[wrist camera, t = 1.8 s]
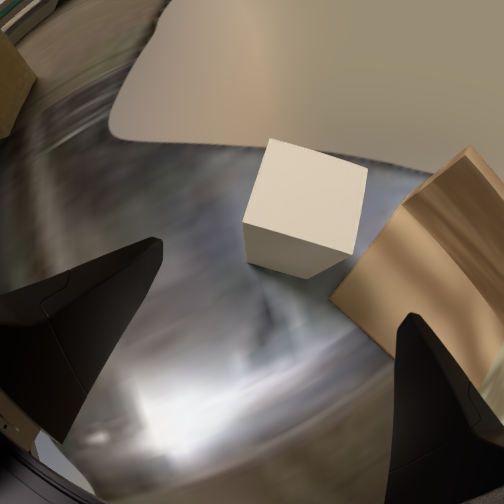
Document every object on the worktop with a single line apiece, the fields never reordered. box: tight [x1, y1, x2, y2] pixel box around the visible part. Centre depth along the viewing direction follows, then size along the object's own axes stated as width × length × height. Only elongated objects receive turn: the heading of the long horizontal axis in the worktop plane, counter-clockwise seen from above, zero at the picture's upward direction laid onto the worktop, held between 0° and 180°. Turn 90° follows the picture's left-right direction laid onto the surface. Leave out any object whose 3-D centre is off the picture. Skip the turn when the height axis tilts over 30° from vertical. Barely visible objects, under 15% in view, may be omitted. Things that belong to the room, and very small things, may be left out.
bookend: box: [242, 139, 368, 280], centre depth 16 cm, size 4×4×10 cm
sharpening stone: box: [0, 0, 58, 45], centre depth 25 cm, size 25×8×11 cm, turn 140°
